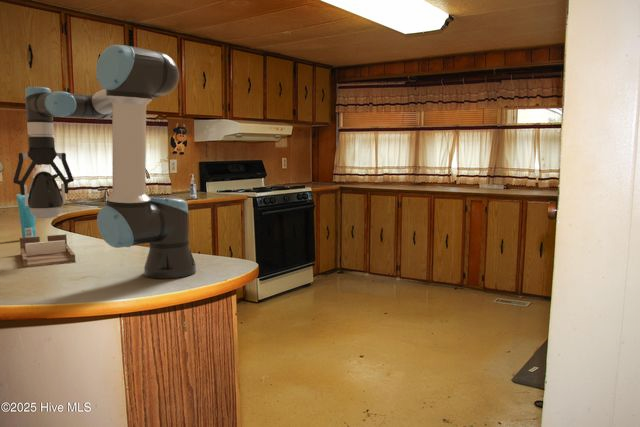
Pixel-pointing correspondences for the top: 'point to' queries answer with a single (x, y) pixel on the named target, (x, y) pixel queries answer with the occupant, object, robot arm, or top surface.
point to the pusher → (45, 247)
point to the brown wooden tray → (49, 257)
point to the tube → (26, 218)
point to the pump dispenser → (45, 196)
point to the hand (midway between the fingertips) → (45, 204)
